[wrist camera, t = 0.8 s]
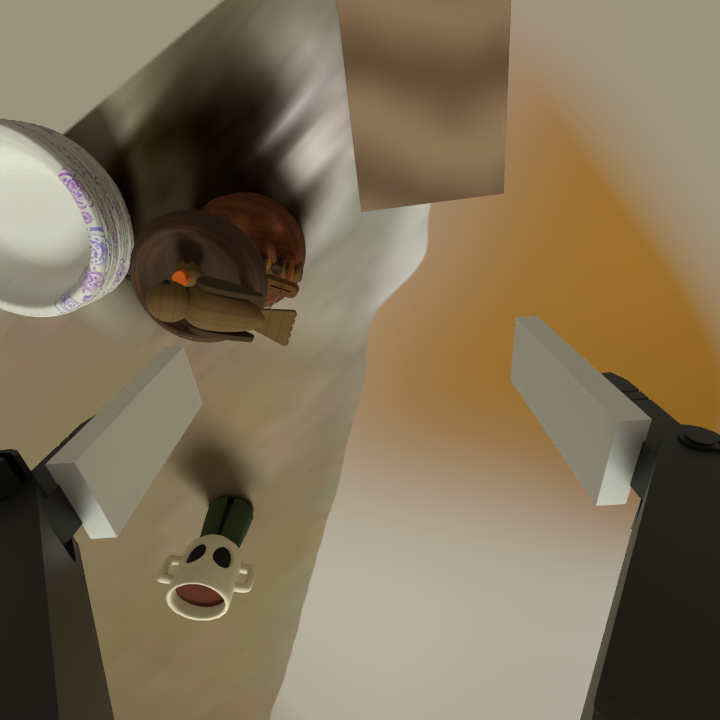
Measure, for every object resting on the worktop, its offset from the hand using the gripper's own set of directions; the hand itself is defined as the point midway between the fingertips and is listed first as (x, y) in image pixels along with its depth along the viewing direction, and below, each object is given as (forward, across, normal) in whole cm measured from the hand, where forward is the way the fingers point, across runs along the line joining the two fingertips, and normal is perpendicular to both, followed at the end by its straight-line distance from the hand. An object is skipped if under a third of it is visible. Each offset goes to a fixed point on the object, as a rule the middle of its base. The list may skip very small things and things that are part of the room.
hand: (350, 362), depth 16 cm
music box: (+26, -11, 0) cm, 28 cm away
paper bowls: (+26, -27, +5) cm, 38 cm away
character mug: (+25, -21, -35) cm, 48 cm away
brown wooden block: (+26, +6, +12) cm, 29 cm away
